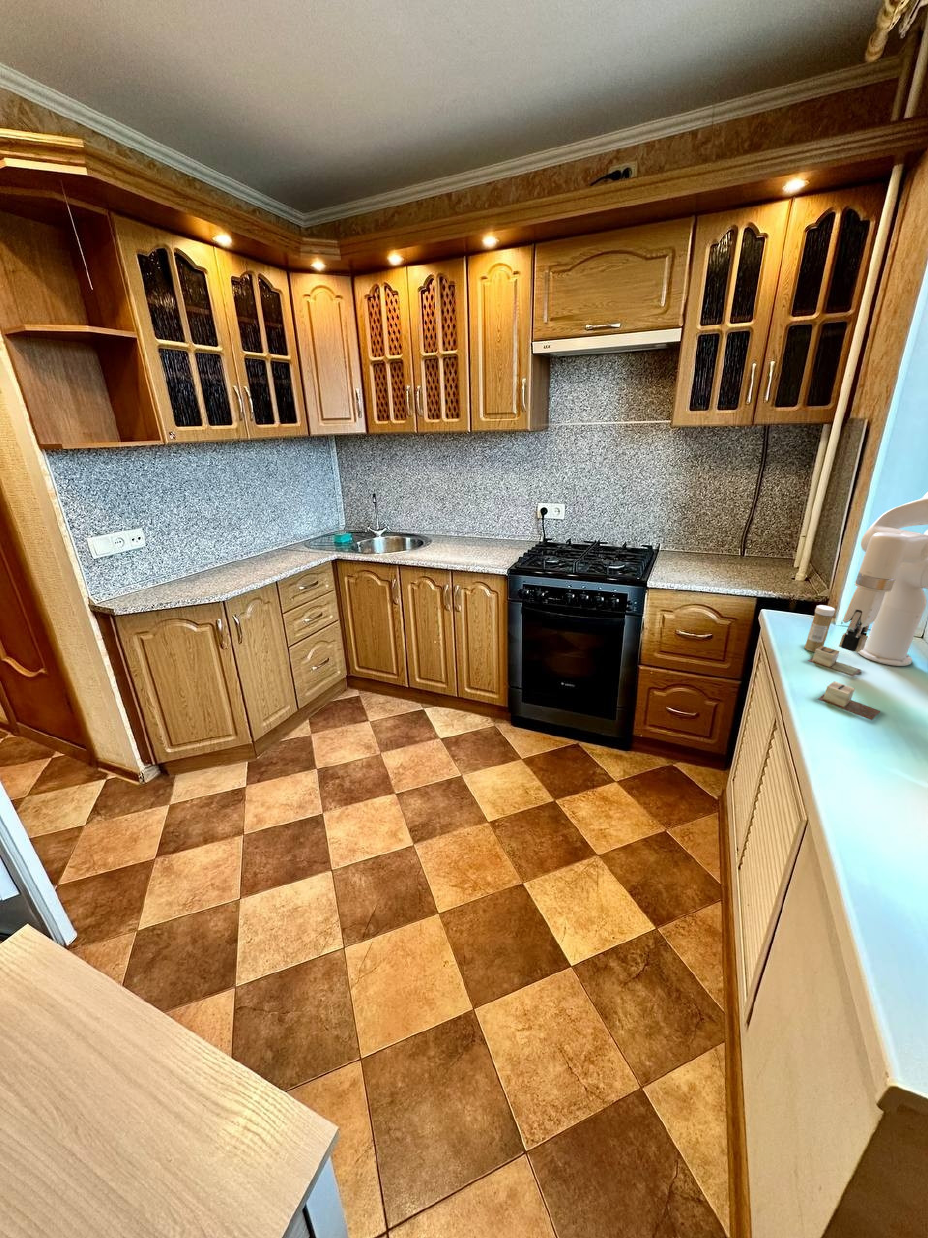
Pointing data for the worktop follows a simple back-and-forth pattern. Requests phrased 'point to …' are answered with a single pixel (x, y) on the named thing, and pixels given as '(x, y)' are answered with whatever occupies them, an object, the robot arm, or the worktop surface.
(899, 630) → the robot arm
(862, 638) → the small square block
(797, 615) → the worktop surface
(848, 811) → the worktop surface
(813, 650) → the sprinkles bottle
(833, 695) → the near stepped slab
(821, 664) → the beige narrow stepped slab
